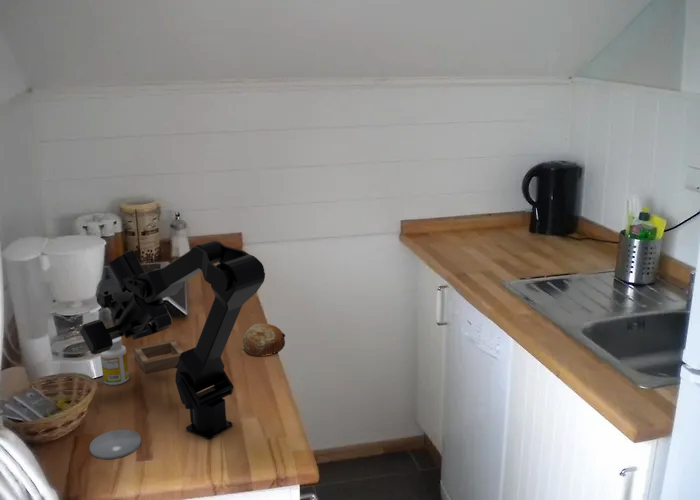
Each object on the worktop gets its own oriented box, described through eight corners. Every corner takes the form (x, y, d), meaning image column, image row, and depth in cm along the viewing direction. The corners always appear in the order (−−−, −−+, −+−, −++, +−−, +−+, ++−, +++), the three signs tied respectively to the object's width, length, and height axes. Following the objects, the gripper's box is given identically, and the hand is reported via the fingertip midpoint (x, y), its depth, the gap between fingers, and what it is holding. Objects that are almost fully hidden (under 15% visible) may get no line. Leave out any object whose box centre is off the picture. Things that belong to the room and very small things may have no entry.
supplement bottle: (120, 372, 163) (115, 332, 160) (134, 378, 159) (130, 338, 157) (98, 380, 159) (93, 339, 156) (112, 387, 155) (107, 346, 153)
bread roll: (246, 356, 179) (231, 331, 175) (281, 333, 181) (267, 308, 178) (257, 372, 170) (242, 346, 167) (294, 348, 172) (279, 322, 169)
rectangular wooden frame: (186, 364, 166) (185, 354, 165) (145, 373, 162) (144, 363, 161) (174, 349, 174) (173, 339, 173) (135, 358, 170) (134, 348, 169)
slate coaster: (151, 441, 135) (151, 438, 134) (111, 464, 127) (110, 461, 127) (119, 427, 139) (119, 424, 139) (79, 449, 132) (79, 446, 132)
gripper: (160, 265, 154) (134, 301, 165) (79, 288, 141) (57, 326, 151) (185, 308, 152) (158, 342, 162) (105, 336, 138) (81, 371, 148)
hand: (114, 344), depth 156 cm, fingers open, 9 cm apart
